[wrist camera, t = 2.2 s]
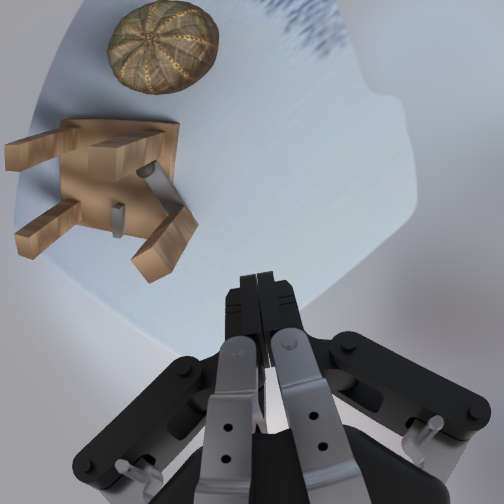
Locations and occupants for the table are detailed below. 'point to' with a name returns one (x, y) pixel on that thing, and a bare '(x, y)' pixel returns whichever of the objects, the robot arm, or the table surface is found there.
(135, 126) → the wooden peg stand
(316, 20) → the table surface
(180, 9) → the shell
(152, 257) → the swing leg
